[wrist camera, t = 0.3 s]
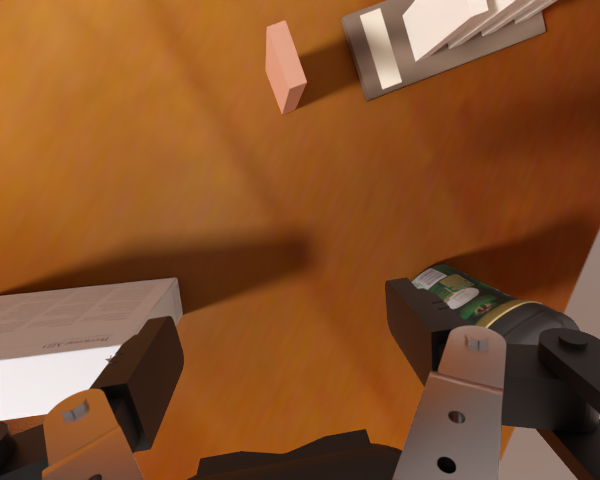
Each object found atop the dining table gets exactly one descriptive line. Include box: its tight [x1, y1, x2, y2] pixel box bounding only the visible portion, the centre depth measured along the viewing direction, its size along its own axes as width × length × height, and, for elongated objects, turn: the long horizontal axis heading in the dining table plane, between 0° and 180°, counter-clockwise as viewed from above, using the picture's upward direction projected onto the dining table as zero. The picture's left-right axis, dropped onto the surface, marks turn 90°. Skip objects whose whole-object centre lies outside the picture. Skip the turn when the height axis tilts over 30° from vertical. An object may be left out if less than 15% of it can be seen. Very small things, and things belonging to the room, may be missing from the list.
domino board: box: [341, 0, 546, 101], centre depth 37 cm, size 9×22×1 cm, turn 111°
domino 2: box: [403, 0, 488, 62], centre depth 32 cm, size 2×5×10 cm, turn 22°
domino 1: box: [266, 21, 307, 115], centre depth 32 cm, size 2×5×10 cm, turn 21°
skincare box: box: [0, 278, 183, 421], centre depth 30 cm, size 21×6×16 cm, turn 94°
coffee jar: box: [412, 264, 580, 345], centre depth 34 cm, size 10×8×19 cm
